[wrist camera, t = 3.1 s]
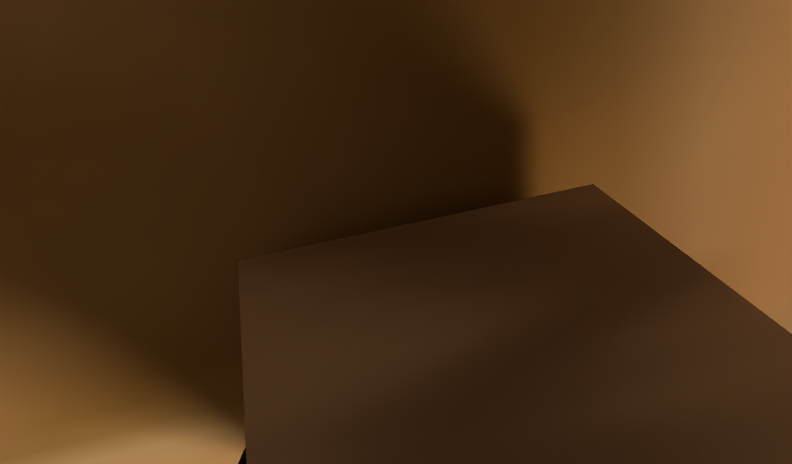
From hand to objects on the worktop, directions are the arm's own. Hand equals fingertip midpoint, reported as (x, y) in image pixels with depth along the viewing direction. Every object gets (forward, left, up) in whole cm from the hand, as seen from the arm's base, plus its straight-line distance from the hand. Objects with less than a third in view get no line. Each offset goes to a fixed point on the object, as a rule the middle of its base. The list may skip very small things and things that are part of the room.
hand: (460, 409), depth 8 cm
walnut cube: (0, 0, -1) cm, 1 cm away
